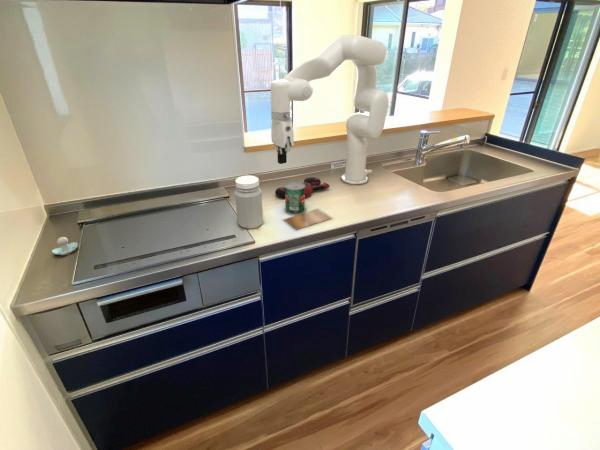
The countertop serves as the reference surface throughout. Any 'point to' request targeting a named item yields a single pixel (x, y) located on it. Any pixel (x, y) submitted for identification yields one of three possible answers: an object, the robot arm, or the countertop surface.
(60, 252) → the pacifier
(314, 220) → the mat
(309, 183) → the toy motorcycle
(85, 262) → the countertop surface
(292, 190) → the canned tomato
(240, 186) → the jar
